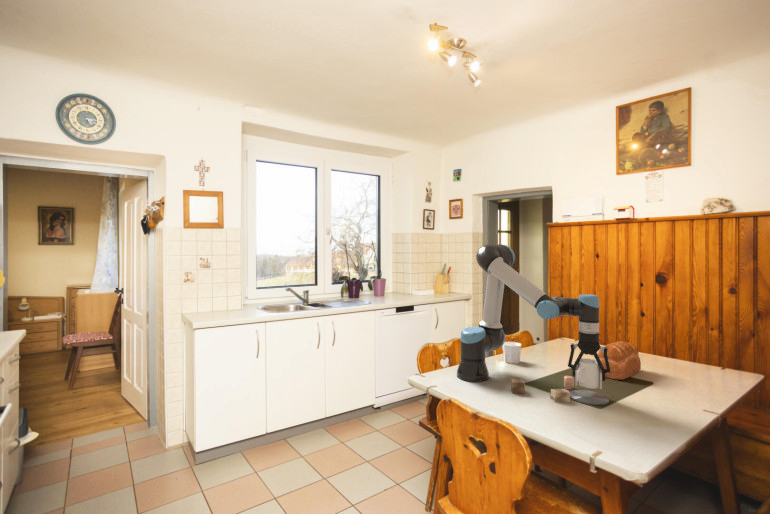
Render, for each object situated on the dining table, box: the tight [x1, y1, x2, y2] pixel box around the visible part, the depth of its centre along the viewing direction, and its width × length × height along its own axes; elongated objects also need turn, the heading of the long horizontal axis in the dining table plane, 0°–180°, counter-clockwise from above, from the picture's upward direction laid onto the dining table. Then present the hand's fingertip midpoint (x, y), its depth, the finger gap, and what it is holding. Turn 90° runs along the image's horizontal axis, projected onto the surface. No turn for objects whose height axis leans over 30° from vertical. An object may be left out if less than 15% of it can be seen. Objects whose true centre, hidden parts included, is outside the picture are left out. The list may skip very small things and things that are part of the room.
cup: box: [501, 341, 522, 365], centre depth 215 cm, size 10×10×10 cm
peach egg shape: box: [563, 375, 575, 391], centre depth 174 cm, size 4×4×5 cm
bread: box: [597, 340, 642, 381], centre depth 195 cm, size 14×26×16 cm, turn 129°
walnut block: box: [510, 378, 526, 395], centre depth 169 cm, size 5×5×5 cm
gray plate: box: [569, 389, 610, 406], centre depth 162 cm, size 15×15×1 cm
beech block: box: [550, 388, 571, 403], centre depth 160 cm, size 6×4×4 cm, turn 93°
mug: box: [577, 358, 600, 390], centre depth 162 cm, size 12×8×10 cm
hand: (588, 386), depth 162 cm, fingers closed on mug, 8 cm apart
